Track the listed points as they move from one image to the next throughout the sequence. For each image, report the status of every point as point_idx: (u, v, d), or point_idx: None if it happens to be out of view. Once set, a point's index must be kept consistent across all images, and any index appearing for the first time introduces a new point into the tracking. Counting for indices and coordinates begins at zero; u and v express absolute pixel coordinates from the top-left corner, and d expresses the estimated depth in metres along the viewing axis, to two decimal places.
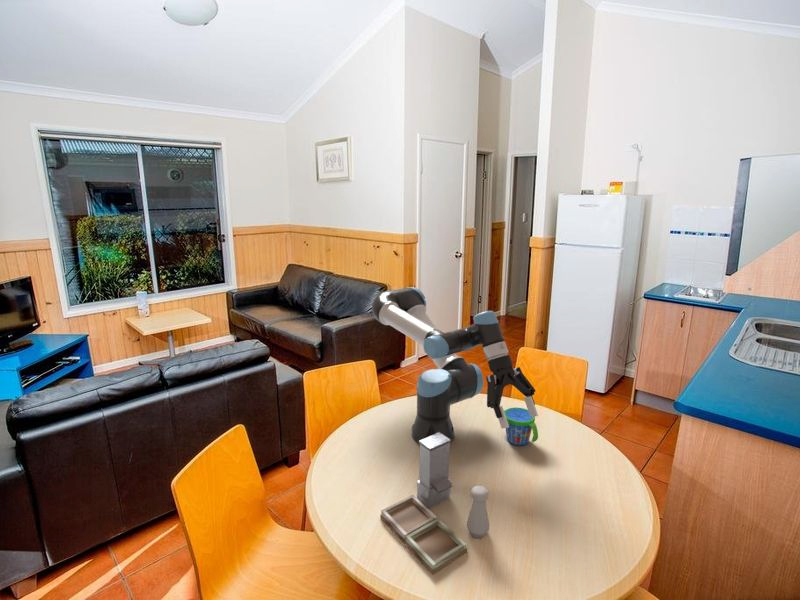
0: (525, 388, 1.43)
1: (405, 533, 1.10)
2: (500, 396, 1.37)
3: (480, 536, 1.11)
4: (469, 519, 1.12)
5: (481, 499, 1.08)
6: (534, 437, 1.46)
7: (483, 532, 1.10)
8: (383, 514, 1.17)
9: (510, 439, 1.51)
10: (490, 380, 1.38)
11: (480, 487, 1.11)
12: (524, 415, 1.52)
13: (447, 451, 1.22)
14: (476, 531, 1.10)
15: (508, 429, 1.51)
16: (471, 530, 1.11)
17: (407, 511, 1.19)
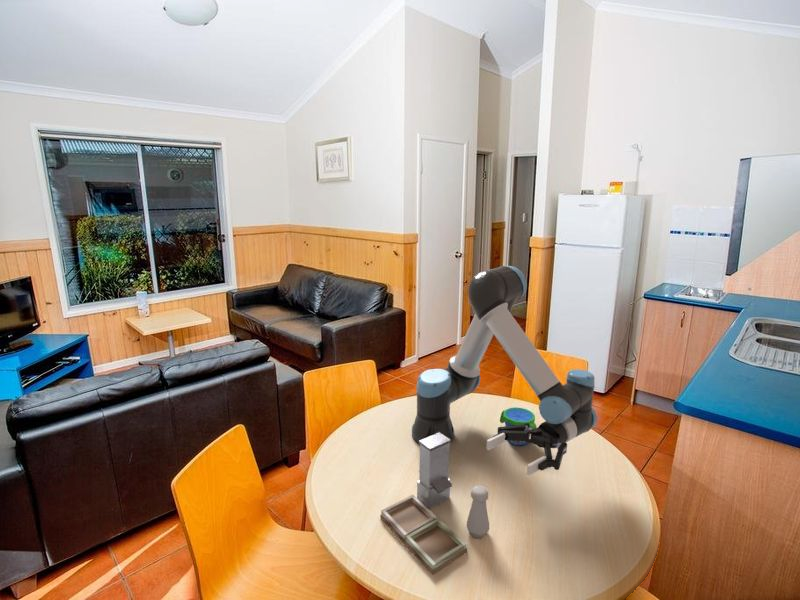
0: None
1: (405, 533, 1.10)
2: None
3: (480, 536, 1.11)
4: (469, 519, 1.12)
5: (481, 499, 1.08)
6: None
7: (483, 532, 1.10)
8: (383, 514, 1.17)
9: None
10: (564, 451, 1.17)
11: (480, 487, 1.11)
12: (524, 415, 1.52)
13: (447, 451, 1.22)
14: (476, 531, 1.10)
15: None
16: (471, 530, 1.11)
17: (407, 511, 1.19)
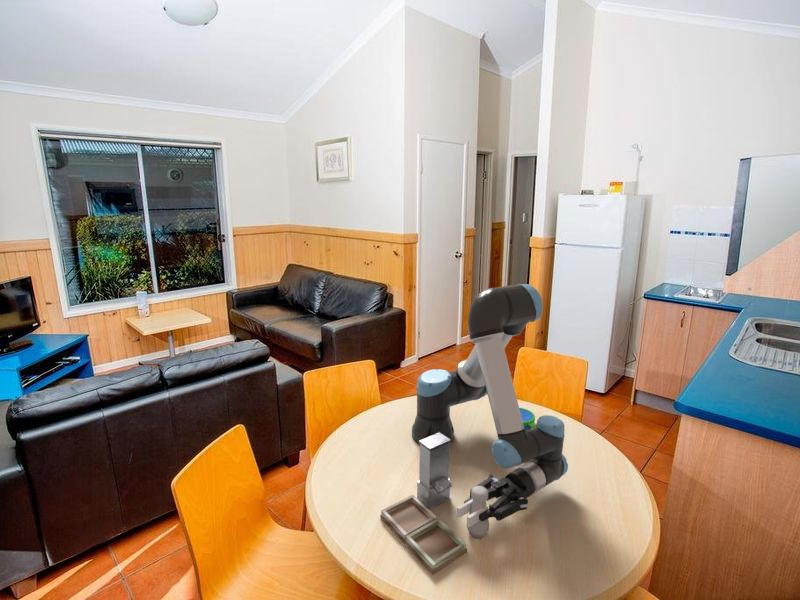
0: None
1: (405, 533, 1.10)
2: None
3: (480, 536, 1.11)
4: None
5: (481, 499, 1.08)
6: None
7: (483, 532, 1.10)
8: (383, 514, 1.17)
9: None
10: (522, 507, 1.12)
11: (480, 487, 1.11)
12: (524, 415, 1.52)
13: (447, 451, 1.22)
14: (476, 530, 1.10)
15: None
16: (471, 530, 1.11)
17: (407, 511, 1.19)
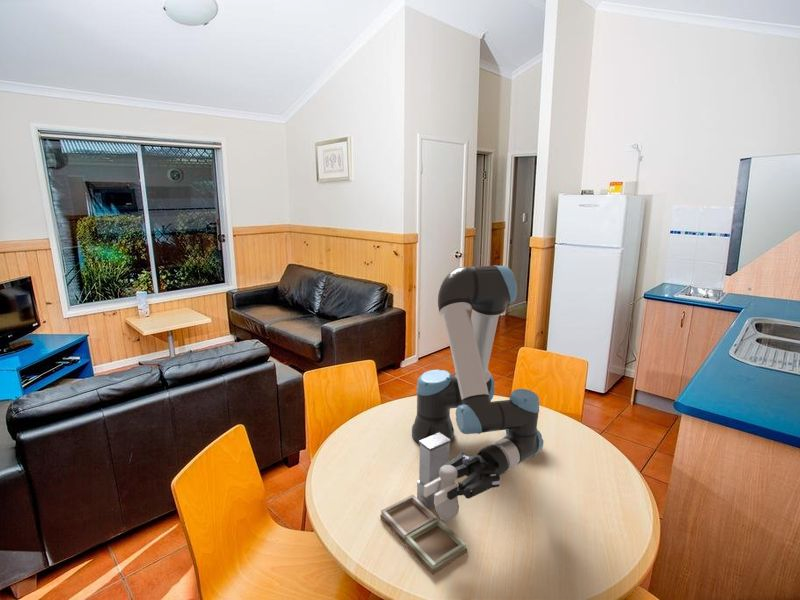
0: None
1: (405, 533, 1.10)
2: None
3: (448, 518, 1.04)
4: None
5: (448, 478, 1.01)
6: None
7: (451, 514, 1.03)
8: (383, 514, 1.17)
9: None
10: (494, 484, 1.05)
11: (449, 466, 1.04)
12: None
13: (447, 451, 1.22)
14: (444, 512, 1.03)
15: None
16: (439, 512, 1.04)
17: (407, 511, 1.19)
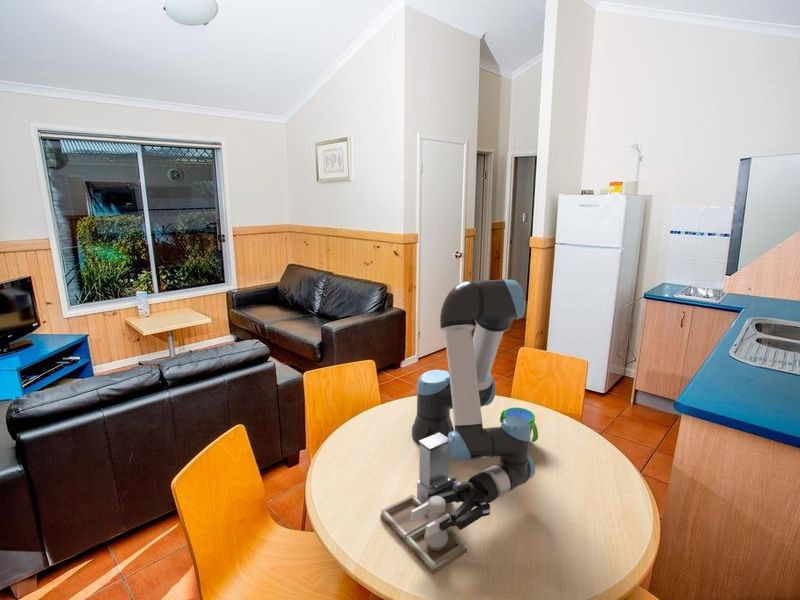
0: None
1: (405, 533, 1.10)
2: None
3: (437, 549, 1.06)
4: None
5: (437, 510, 1.03)
6: (534, 437, 1.46)
7: (440, 545, 1.05)
8: (383, 514, 1.17)
9: None
10: (484, 513, 1.07)
11: (438, 497, 1.06)
12: (524, 415, 1.52)
13: (447, 451, 1.22)
14: (432, 543, 1.05)
15: None
16: (428, 542, 1.06)
17: (407, 511, 1.19)
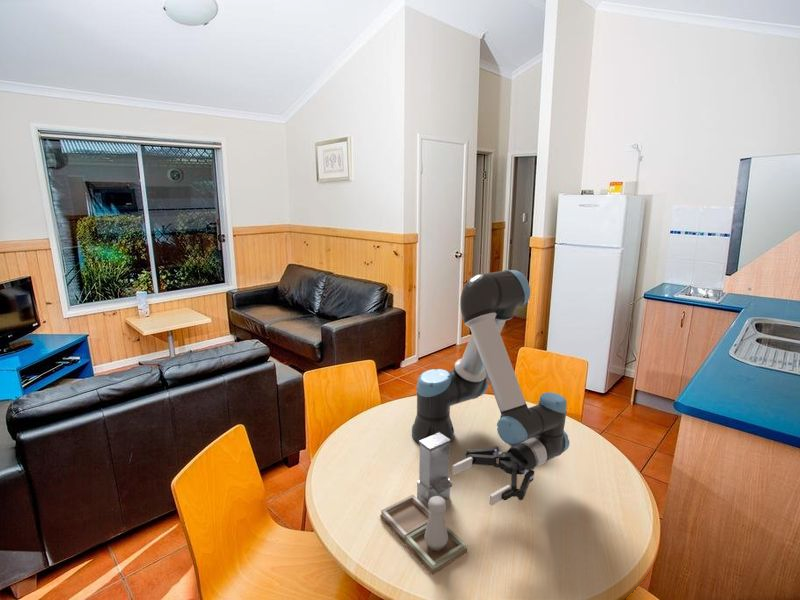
0: None
1: (405, 533, 1.10)
2: None
3: (437, 549, 1.06)
4: (426, 530, 1.07)
5: (437, 510, 1.03)
6: None
7: (440, 545, 1.05)
8: (383, 514, 1.17)
9: None
10: (531, 479, 1.15)
11: (438, 497, 1.06)
12: None
13: (447, 451, 1.22)
14: (432, 543, 1.05)
15: None
16: (428, 542, 1.06)
17: (407, 511, 1.19)
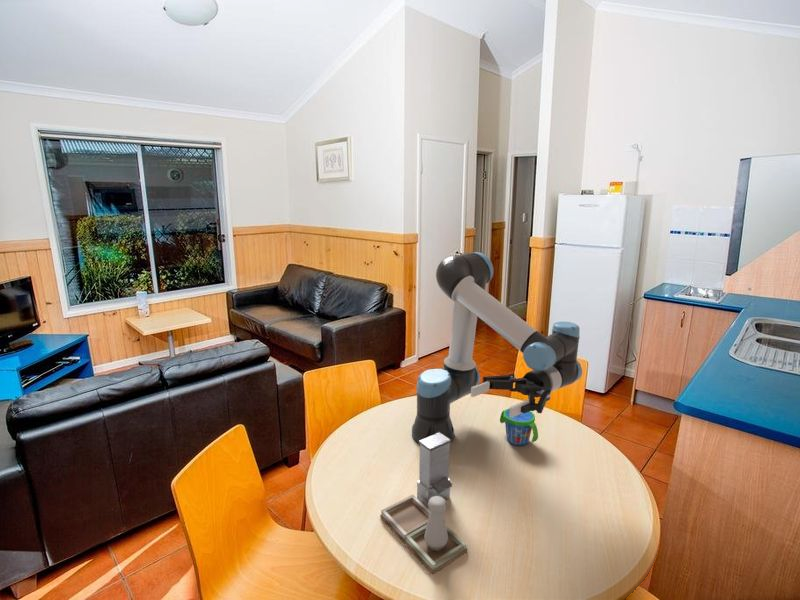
0: None
1: (405, 533, 1.10)
2: None
3: (437, 549, 1.06)
4: (426, 530, 1.07)
5: (437, 510, 1.03)
6: (534, 437, 1.46)
7: (440, 545, 1.05)
8: (383, 514, 1.17)
9: (510, 439, 1.51)
10: (547, 397, 1.18)
11: (438, 497, 1.06)
12: (524, 415, 1.52)
13: (447, 451, 1.22)
14: (432, 543, 1.05)
15: (508, 429, 1.51)
16: (428, 542, 1.06)
17: (407, 511, 1.19)
